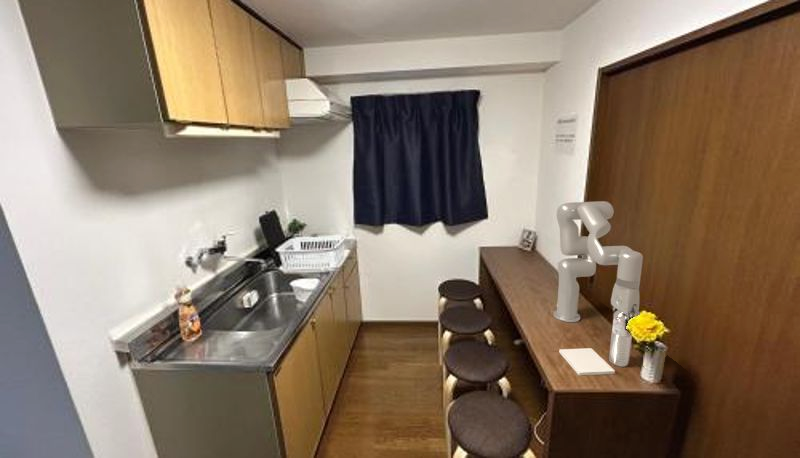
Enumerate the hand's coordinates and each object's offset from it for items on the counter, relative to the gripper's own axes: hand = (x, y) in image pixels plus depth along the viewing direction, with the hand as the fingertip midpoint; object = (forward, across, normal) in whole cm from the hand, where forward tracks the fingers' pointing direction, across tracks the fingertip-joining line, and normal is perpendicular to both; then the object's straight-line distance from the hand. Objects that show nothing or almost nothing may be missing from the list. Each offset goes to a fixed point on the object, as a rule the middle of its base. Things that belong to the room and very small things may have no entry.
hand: (622, 324), depth 135 cm
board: (+17, -1, -13) cm, 21 cm away
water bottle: (+17, 0, 0) cm, 17 cm away
